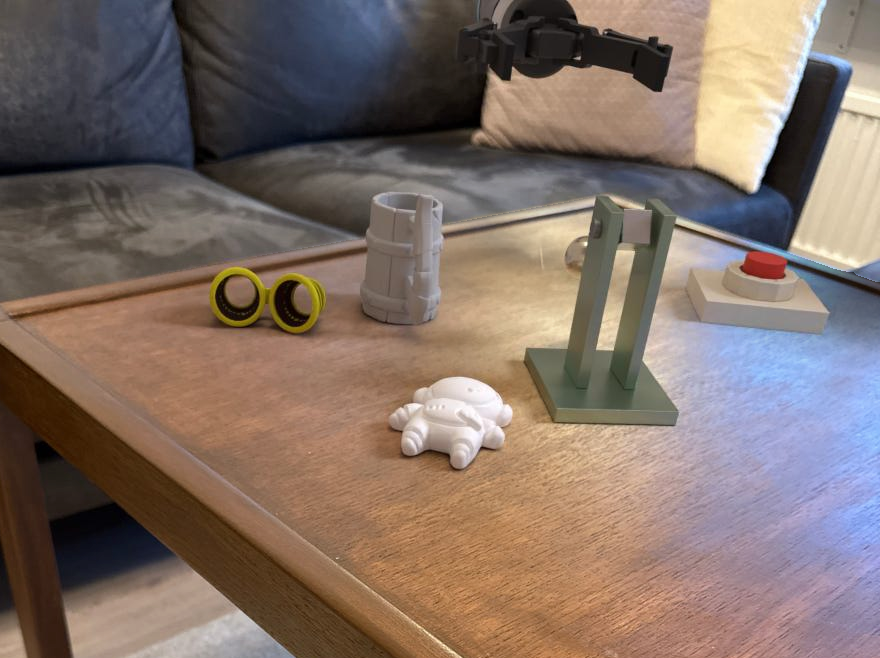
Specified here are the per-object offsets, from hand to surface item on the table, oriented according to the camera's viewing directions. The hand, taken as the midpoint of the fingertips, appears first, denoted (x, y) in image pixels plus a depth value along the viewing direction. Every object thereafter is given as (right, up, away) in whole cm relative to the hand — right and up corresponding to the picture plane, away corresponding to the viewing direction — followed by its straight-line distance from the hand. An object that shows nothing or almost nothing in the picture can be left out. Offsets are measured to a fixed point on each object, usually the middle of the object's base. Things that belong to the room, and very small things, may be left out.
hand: (586, 68), depth 84 cm
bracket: (0, -28, -2) cm, 28 cm away
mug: (-16, -19, +8) cm, 26 cm away
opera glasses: (-28, -20, +5) cm, 35 cm away
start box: (+20, -15, +17) cm, 30 cm away
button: (+20, -12, +14) cm, 28 cm away
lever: (+1, -19, -4) cm, 19 cm away
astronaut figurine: (-12, -33, -10) cm, 37 cm away
